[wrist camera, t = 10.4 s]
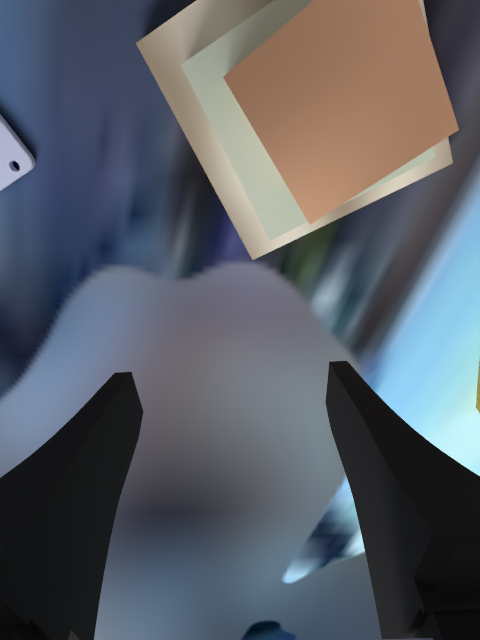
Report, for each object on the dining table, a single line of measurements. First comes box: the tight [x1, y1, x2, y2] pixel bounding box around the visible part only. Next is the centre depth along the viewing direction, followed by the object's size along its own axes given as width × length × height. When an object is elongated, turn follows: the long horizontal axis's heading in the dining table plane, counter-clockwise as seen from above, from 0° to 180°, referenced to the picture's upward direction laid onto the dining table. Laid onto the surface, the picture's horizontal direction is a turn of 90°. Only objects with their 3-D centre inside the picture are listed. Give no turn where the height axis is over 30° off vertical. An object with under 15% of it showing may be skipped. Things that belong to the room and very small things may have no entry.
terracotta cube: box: [223, 0, 459, 224], centre depth 12 cm, size 5×5×5 cm
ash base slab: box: [136, 0, 453, 260], centre depth 17 cm, size 11×11×2 cm
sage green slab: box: [181, 0, 436, 241], centre depth 16 cm, size 8×8×2 cm
